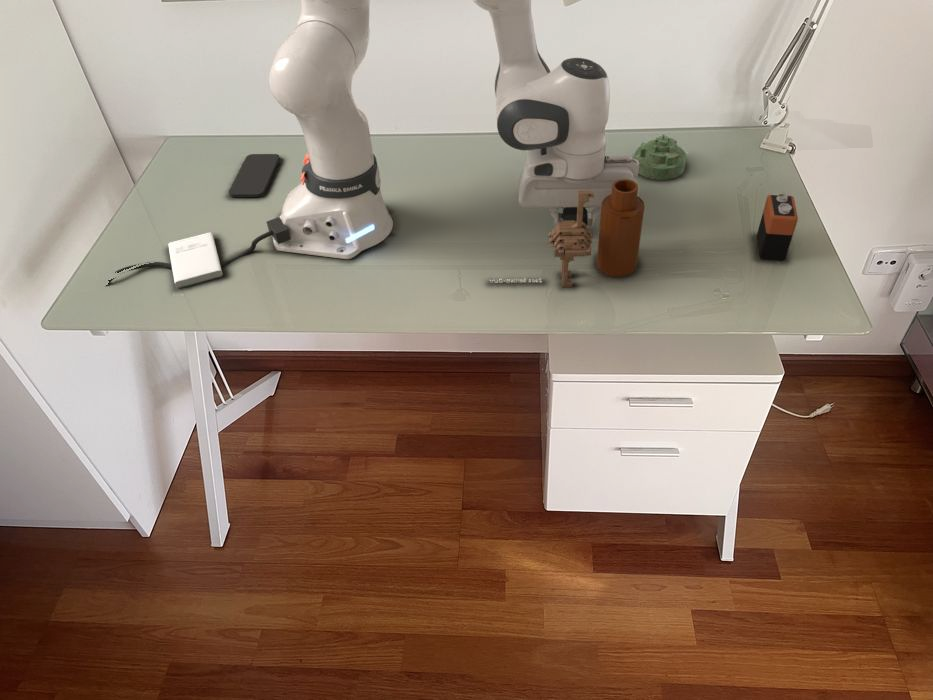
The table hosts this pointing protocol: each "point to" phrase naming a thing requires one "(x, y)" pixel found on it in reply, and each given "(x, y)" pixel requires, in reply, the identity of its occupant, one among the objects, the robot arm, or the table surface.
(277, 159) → the phone
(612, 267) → the bottle
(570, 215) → the bung
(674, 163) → the decorative artifact
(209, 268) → the white power adapter
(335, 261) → the table surface
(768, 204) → the battery
